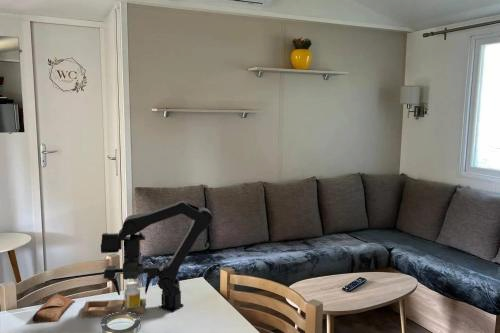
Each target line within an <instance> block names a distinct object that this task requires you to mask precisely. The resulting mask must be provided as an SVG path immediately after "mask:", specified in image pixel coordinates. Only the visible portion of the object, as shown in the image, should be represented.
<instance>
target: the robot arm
mask: <svg viewBox="0 0 500 333" xmlns="http://www.w3.org/2000/svg"><path fill="white" fill-rule="evenodd" d="M179 215H184V216H186V217H187V218H189V219H191V223H190V226H189V227H190V228H189V230H188V231H187V233H186V235H185V236H184V238H183V240H182V241H181V242H180V244H179V246H178V248H177V249H176V251H175V253H174V254H173V256H172V258H171V259H170V260H169V262H167V263H165V262H163V263H162V265H161V268H160V265H159V264H158V263H148V265H147V266H146V267H144V263H141V241H145V240H146V238H147V237H146V235H145V233H144V234H143V232H142V231H143V230H144V229H146V228H148V227H149V226H151V225H153V224H154V225H155V224H157V223H159V222H161V221H165V220H167V219H170V218H172V217H175V216H179ZM212 221H213V216H212V213H211V212H210V210H209V208H207V207H203V206H202V207H199V206H196V205H194V204H190V203H188V202H187V201H185V200H180V201H178V202H175V203H172V204H170V205H166V206H164V207H162V208H159V209H155V210H153V211H150V212H147V213H138V214H137V213H136V214H131V215H128V216H126V218H124V221H123V224H122V227H121V229H120V230H119V231H118V233H117V232H115V233H108V232H105V233H104V232H103V233H102V234H101V244H100V252H101V254H114V253H117V254H118V253H119V252H120V250H122V249H123V263H122V267H121V268H118V265H107V266H106V267H104V268H105V269H104V271H103V279H107V280H108V281H110V282H112V283H113V285H114V287H115V289H116V290H115V291H116V292H117V294H118V296H121V295H120V294H121V284H120V275H122V278H123V280H137V279H138V278H139V276H140V275H143V274H146V280H145V287H144V288H145V289H144V294H145V295H146V294H147V292H148V289H149V286H150V283H151V281H152V279H155V278H156V277H157V287H158V288H159V289H161V294H160V295H161V305H160V306H159V309H162V310H165V311H167V312H168V311H169V312H171V313H174V312H175V311H178V310H179V309H181V308H182V307H184V304H183V303H182V291H181V289H180V288H181V285H180V284H181V283H180V280H179V279H178V274H179V271H180V268H181V267H182V265H183V263H184V262H185V260H186V258H187V256H188V255H189V253H190V251H191V250H192V248H193V246H194V244H196V241H197V240H198V238H199V236H200V235H201V234H202V233H204V231H205V230H207V228H208V227H209V226H210V225H211V224H212Z"/></svg>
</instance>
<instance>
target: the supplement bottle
mask: <svg viewBox="0 0 500 333" xmlns="http://www.w3.org/2000/svg"><path fill="white" fill-rule="evenodd" d="M125 286H126V289H125V290H124V296H123V300H124V302H125V306H124V309H129V308H141V305H140V299H141V290H140V288H139V283H138V282H137V281H128V282H126V285H125Z"/></svg>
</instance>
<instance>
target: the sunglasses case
mask: <svg viewBox="0 0 500 333" xmlns="http://www.w3.org/2000/svg"><path fill="white" fill-rule="evenodd" d="M75 302H76V300H74V299H71V298H69V297H65V296H63V295H61V294H59V293H57V292H55V293H54V294H53V296H52V297H50V298H49V299H48V300H47V301H46V302H44V304H42V305H41V307H39V309H38V310H37V311H36V312H35V313H34V314H33V316H32V321H33V322H34V323H58V322H60V319H61V318H62V316H63V315H64V314H65V312H66V311H67V310H68V309H69V308H70V307H71V306H72V305H73V304H75Z"/></svg>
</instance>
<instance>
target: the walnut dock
mask: <svg viewBox="0 0 500 333" xmlns="http://www.w3.org/2000/svg"><path fill="white" fill-rule="evenodd" d="M146 305H147V298H140V306H141V307H140V308H129V309H125V308H124V307H125V302H124V299H111V300H110V299H109V300H105V299H104V300H88V301H87V300H86V301H85V303H84V305H83V308H82V310H81V311H80V313H81V314H80V318H100V317H108V316H107V315H109V314H112V313H116V312H131V313H135V314H137V315H136V316H139V315H142V316H143V315H145V311H146V307H147V306H146Z"/></svg>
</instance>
